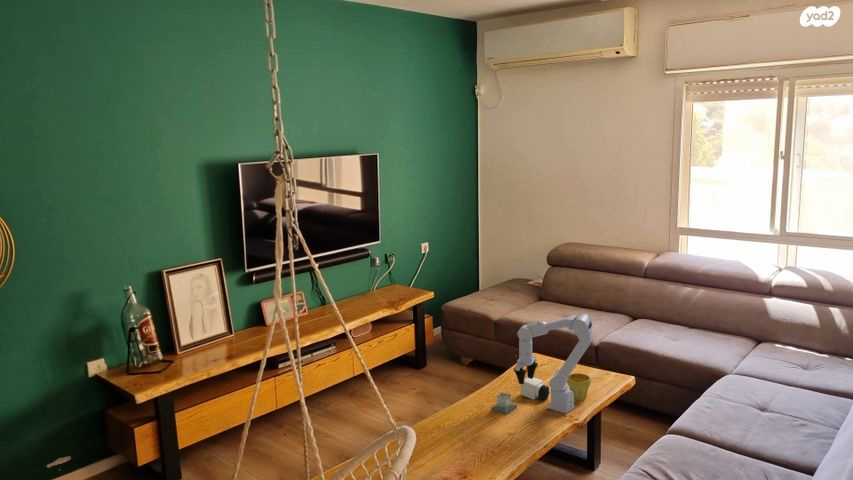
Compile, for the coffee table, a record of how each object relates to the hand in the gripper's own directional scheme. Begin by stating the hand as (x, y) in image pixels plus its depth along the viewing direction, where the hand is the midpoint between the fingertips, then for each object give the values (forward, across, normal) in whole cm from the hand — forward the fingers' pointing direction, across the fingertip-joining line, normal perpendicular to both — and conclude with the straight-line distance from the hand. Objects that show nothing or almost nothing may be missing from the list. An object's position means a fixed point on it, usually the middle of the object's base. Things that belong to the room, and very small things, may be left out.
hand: (525, 381), depth 291 cm
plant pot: (+10, -18, +16) cm, 27 cm away
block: (+11, +11, -4) cm, 16 cm away
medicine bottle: (+6, -8, -6) cm, 12 cm away
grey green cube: (+9, +11, -4) cm, 15 cm away
